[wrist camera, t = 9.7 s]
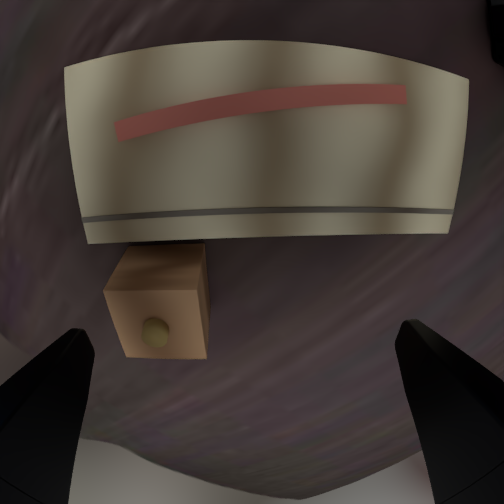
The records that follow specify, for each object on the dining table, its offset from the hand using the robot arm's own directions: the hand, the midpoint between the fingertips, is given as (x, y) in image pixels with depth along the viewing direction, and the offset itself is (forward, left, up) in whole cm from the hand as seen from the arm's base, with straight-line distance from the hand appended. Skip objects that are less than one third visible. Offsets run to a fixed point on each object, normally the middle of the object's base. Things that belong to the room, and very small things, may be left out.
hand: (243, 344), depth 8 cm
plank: (-2, -4, -11) cm, 12 cm away
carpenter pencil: (-1, -6, -9) cm, 11 cm away
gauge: (+5, +5, -11) cm, 13 cm away
